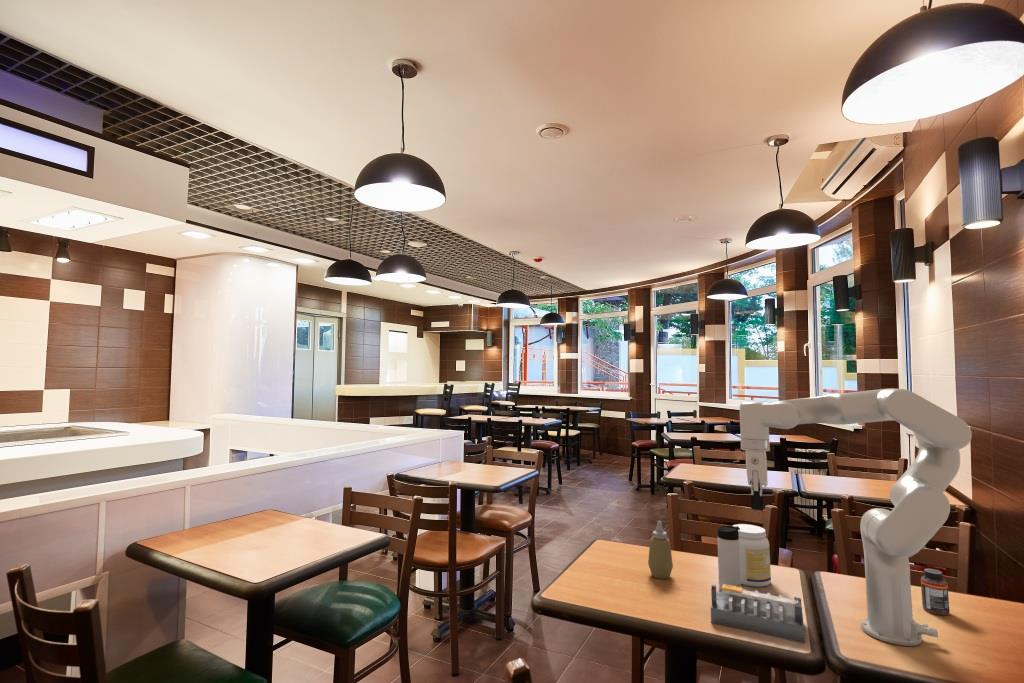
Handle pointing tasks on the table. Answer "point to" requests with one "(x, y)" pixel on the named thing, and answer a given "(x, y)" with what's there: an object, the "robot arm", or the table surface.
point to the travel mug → (728, 556)
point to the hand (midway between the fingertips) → (757, 509)
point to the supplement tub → (754, 556)
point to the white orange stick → (758, 596)
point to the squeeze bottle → (660, 554)
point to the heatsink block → (757, 615)
